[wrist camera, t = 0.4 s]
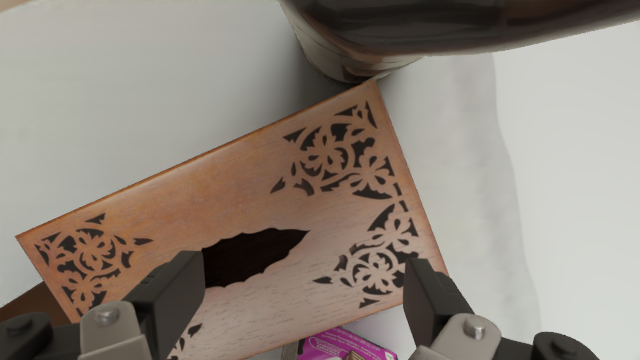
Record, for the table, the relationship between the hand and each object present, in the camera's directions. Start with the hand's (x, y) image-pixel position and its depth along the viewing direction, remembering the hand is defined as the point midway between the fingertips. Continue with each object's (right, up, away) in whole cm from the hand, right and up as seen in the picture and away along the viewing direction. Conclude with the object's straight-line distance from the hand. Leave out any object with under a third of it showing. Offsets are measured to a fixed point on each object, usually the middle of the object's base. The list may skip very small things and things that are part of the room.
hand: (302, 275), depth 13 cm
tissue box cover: (-5, +1, +19) cm, 20 cm away
